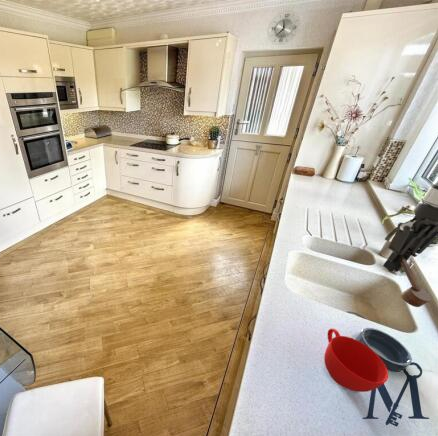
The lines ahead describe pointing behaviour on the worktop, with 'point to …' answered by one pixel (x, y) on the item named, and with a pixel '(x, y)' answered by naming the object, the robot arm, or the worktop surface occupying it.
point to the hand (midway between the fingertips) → (390, 268)
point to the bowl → (386, 349)
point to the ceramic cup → (353, 364)
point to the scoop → (413, 289)
